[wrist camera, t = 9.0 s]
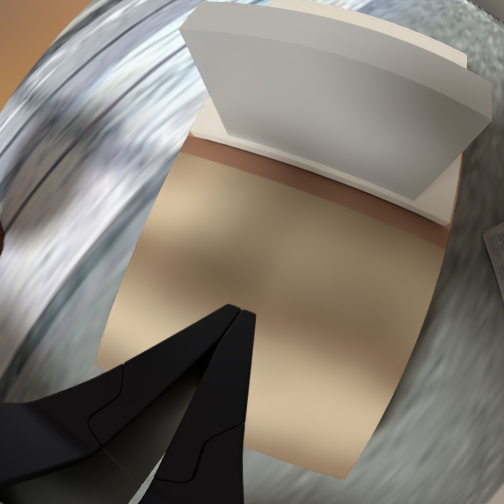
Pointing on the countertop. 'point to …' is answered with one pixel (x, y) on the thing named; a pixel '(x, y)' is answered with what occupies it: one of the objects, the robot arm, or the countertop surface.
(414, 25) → the countertop surface
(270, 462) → the countertop surface
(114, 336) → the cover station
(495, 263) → the coffee box
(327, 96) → the white l-shaped piece
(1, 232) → the ice cream bowl
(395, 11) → the countertop surface
